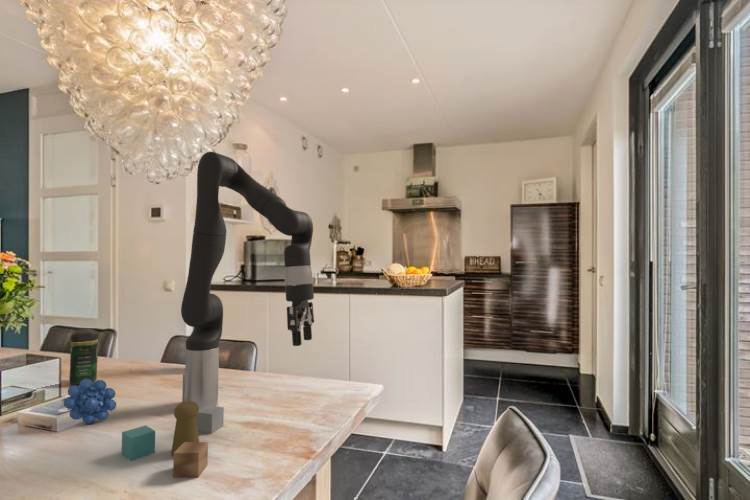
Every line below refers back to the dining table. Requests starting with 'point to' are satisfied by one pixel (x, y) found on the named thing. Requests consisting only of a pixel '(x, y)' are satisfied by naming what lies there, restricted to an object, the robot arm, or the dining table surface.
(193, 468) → the walnut block
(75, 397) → the blue knobby flower
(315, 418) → the dining table surface
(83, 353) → the coffee jar
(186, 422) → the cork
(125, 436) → the deep teal block
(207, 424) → the slate-grey block
